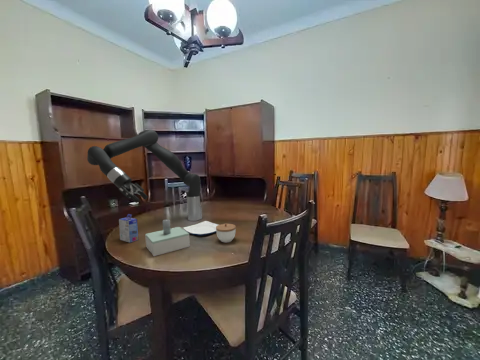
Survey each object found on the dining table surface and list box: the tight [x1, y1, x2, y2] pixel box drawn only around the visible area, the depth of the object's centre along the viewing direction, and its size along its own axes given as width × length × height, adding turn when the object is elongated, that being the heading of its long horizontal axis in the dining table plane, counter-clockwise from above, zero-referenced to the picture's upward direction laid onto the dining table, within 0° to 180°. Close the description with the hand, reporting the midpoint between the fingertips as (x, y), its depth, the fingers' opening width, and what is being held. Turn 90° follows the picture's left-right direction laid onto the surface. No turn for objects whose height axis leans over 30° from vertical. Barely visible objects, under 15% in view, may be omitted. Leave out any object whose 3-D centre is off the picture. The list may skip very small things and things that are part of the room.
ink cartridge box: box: [118, 213, 139, 243], centre depth 128 cm, size 10×6×14 cm, turn 58°
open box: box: [144, 234, 191, 257], centre depth 118 cm, size 18×14×6 cm
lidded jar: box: [215, 223, 237, 243], centre depth 124 cm, size 11×11×9 cm
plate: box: [182, 220, 219, 237], centre depth 142 cm, size 20×20×3 cm
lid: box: [144, 219, 190, 244], centre depth 117 cm, size 18×14×9 cm
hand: (142, 199), depth 117 cm, fingers open, 8 cm apart
